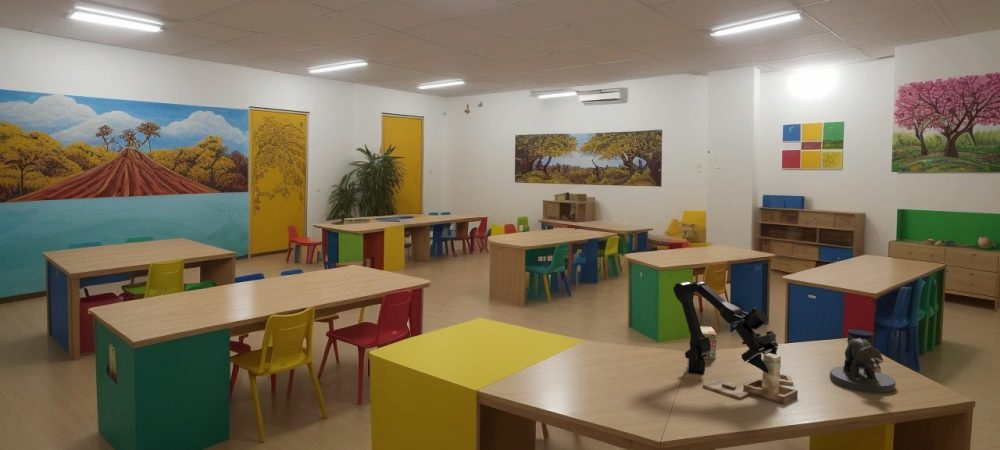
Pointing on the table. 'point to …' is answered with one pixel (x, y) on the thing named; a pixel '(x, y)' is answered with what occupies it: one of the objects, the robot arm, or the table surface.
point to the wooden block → (771, 373)
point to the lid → (727, 388)
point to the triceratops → (862, 369)
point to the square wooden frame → (788, 381)
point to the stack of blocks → (712, 338)
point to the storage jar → (860, 336)
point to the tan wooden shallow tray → (781, 398)
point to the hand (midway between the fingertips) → (774, 370)
